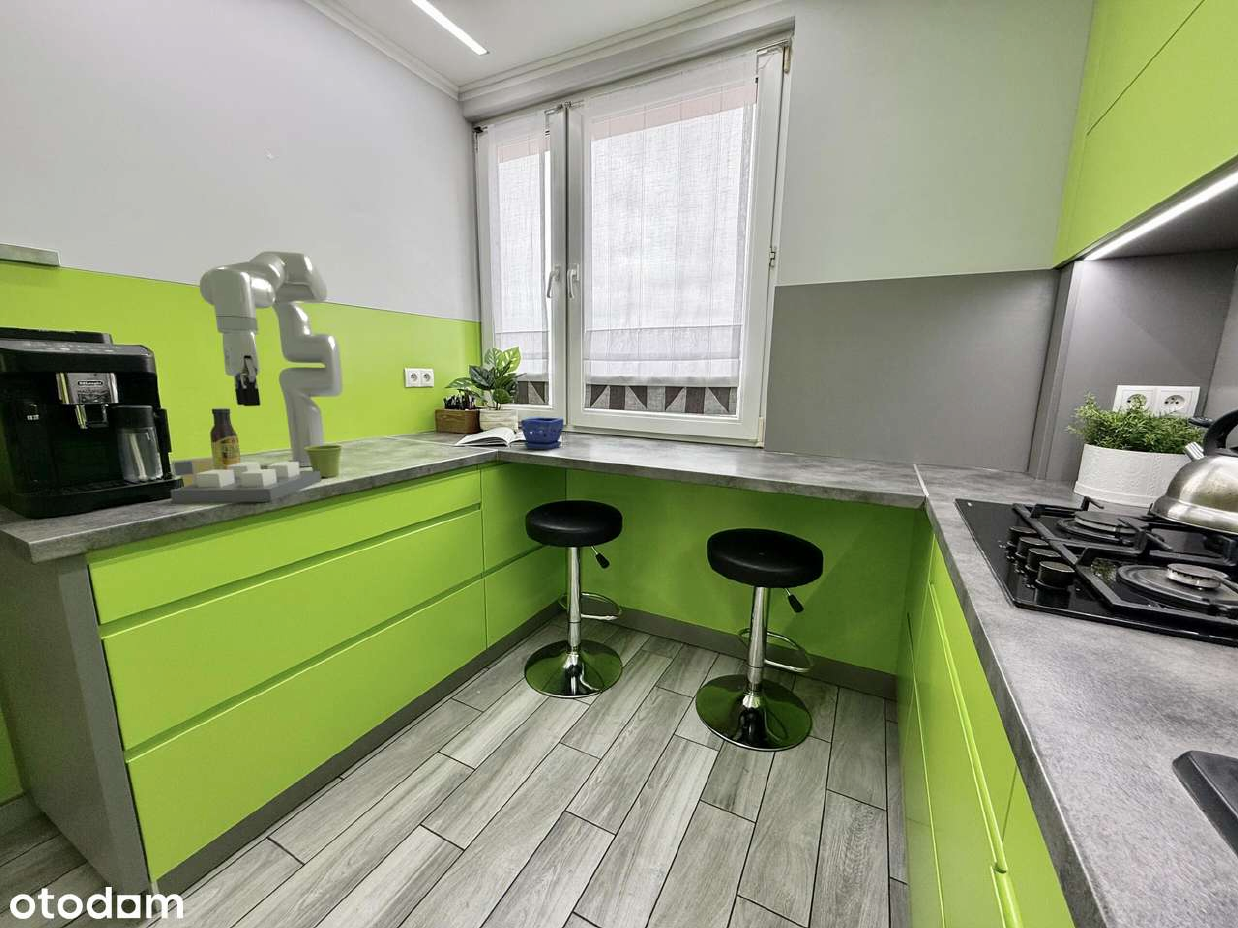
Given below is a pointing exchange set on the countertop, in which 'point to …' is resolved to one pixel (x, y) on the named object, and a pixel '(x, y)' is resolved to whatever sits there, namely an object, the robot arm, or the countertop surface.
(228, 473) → the button
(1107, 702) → the countertop surface
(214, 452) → the sauce bottle
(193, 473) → the card
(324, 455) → the plant pot
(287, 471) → the button
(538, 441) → the flower pot
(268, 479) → the button
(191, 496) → the button board
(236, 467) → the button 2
